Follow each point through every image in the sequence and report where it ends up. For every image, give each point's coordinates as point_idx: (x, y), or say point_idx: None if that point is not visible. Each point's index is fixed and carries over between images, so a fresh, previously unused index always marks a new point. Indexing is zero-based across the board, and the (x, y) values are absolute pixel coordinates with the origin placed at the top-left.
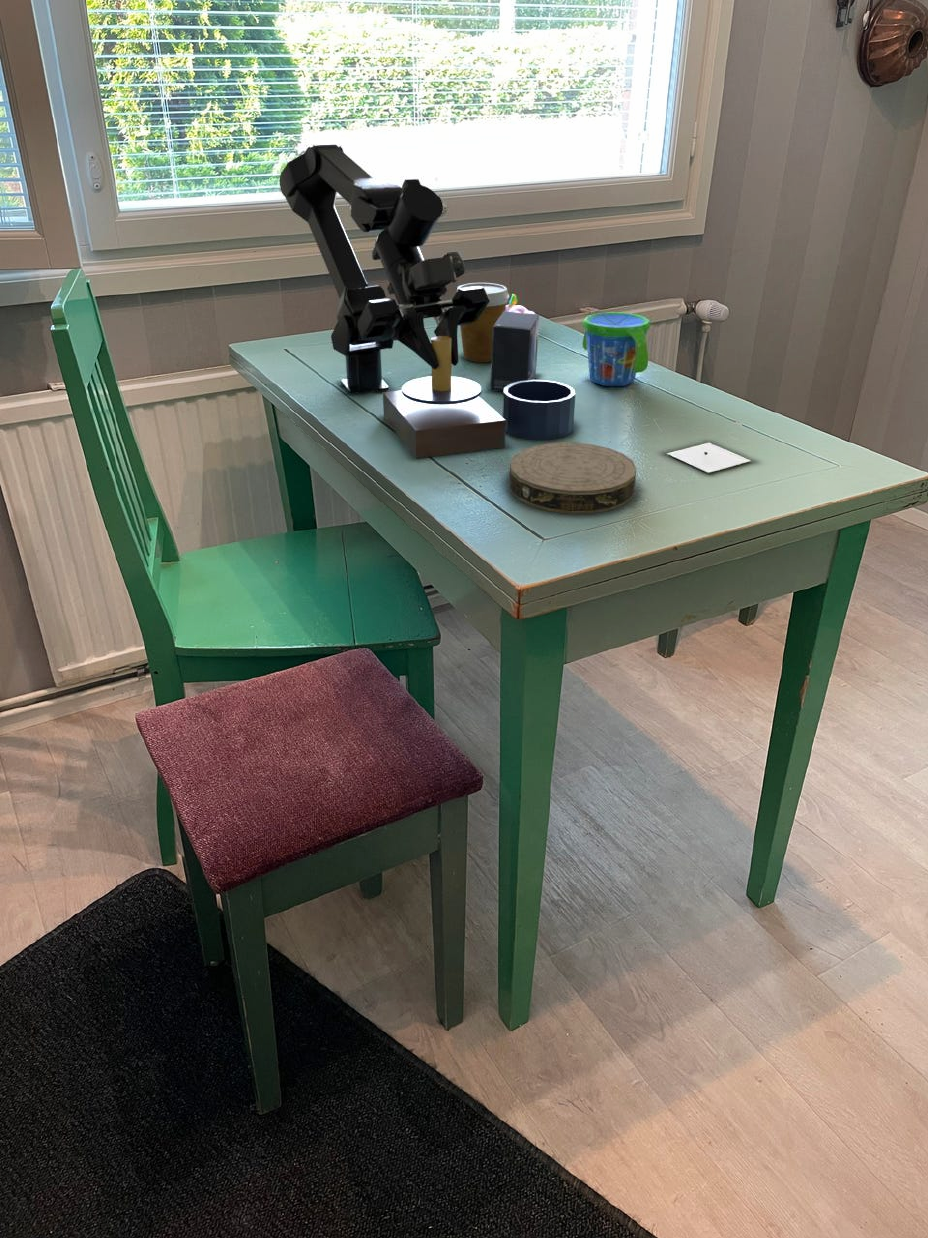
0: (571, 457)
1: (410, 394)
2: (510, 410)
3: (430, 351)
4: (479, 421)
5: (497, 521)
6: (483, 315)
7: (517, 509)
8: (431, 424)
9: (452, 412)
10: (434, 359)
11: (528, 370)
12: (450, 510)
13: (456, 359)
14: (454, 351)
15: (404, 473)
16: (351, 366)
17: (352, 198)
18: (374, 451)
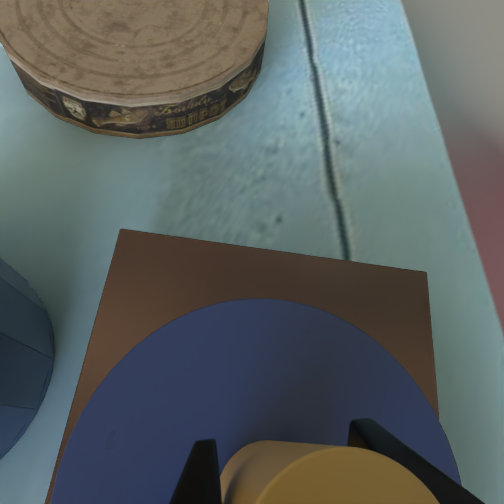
0: (108, 21)
1: (440, 463)
2: (23, 331)
3: (444, 483)
4: (206, 253)
5: (331, 12)
6: None
7: (281, 25)
8: (365, 298)
9: None
10: (392, 442)
11: None
12: (390, 67)
13: (208, 445)
14: (208, 493)
15: (435, 233)
16: None
17: None
18: (486, 402)
